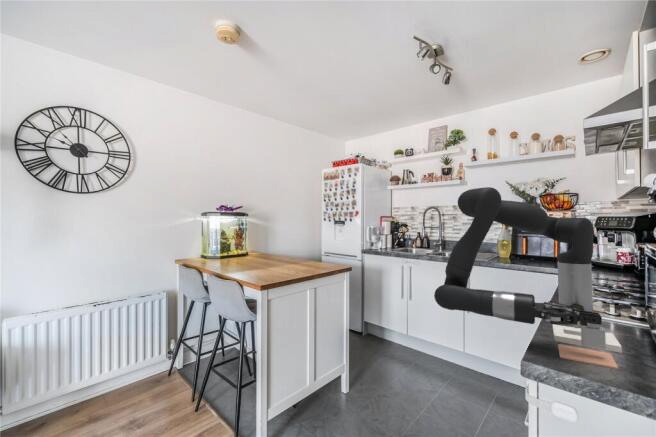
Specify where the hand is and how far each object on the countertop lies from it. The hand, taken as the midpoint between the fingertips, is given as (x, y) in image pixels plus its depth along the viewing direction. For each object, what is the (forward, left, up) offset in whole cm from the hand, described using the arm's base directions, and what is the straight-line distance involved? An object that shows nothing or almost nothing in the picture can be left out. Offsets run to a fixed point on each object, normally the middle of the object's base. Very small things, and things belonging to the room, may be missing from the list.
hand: (600, 318), depth 68 cm
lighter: (0, -3, -7) cm, 7 cm away
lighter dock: (-12, -2, -10) cm, 16 cm away
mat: (0, -3, -10) cm, 10 cm away
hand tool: (-28, 0, -10) cm, 30 cm away
